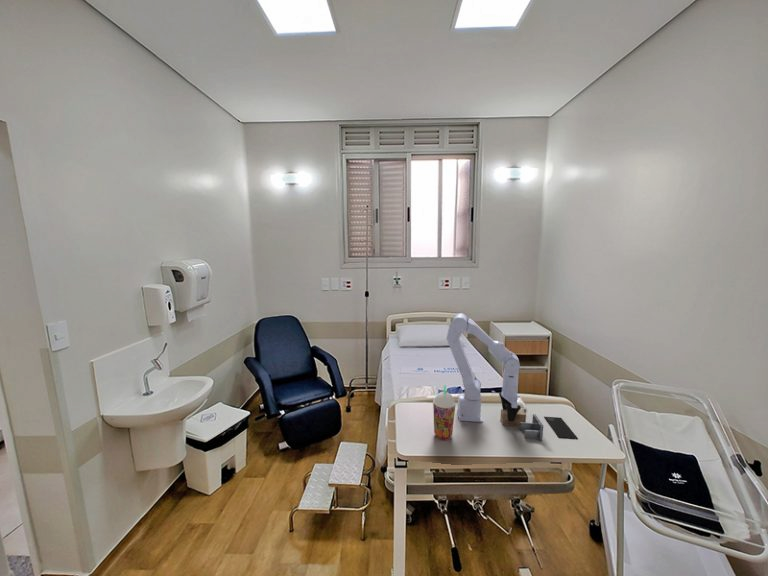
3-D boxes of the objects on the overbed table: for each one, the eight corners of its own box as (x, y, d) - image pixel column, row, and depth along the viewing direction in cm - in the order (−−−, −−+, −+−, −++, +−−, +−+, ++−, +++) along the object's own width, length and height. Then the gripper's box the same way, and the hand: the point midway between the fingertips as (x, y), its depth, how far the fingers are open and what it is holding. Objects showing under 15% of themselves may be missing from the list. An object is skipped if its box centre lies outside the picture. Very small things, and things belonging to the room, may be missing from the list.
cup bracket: (525, 439, 118) (526, 424, 117) (518, 427, 126) (519, 413, 125) (542, 440, 117) (543, 425, 117) (534, 428, 125) (535, 414, 124)
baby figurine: (518, 417, 134) (507, 399, 135) (506, 413, 145) (495, 397, 147) (534, 406, 135) (523, 388, 137) (520, 403, 147) (510, 387, 149)
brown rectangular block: (502, 424, 128) (502, 413, 127) (500, 420, 131) (501, 409, 130) (525, 426, 127) (526, 414, 126) (522, 422, 130) (523, 410, 129)
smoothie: (428, 436, 119) (429, 386, 117) (438, 426, 126) (440, 379, 123) (448, 445, 114) (450, 393, 112) (458, 434, 121) (460, 385, 118)
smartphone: (579, 440, 118) (560, 418, 133) (579, 438, 118) (561, 416, 133) (558, 439, 119) (542, 417, 134) (558, 437, 119) (542, 415, 134)
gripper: (526, 392, 119) (524, 426, 121) (515, 377, 134) (513, 407, 135) (507, 392, 120) (505, 425, 122) (497, 376, 134) (496, 406, 136)
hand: (508, 415), depth 129 cm, fingers open, 7 cm apart
